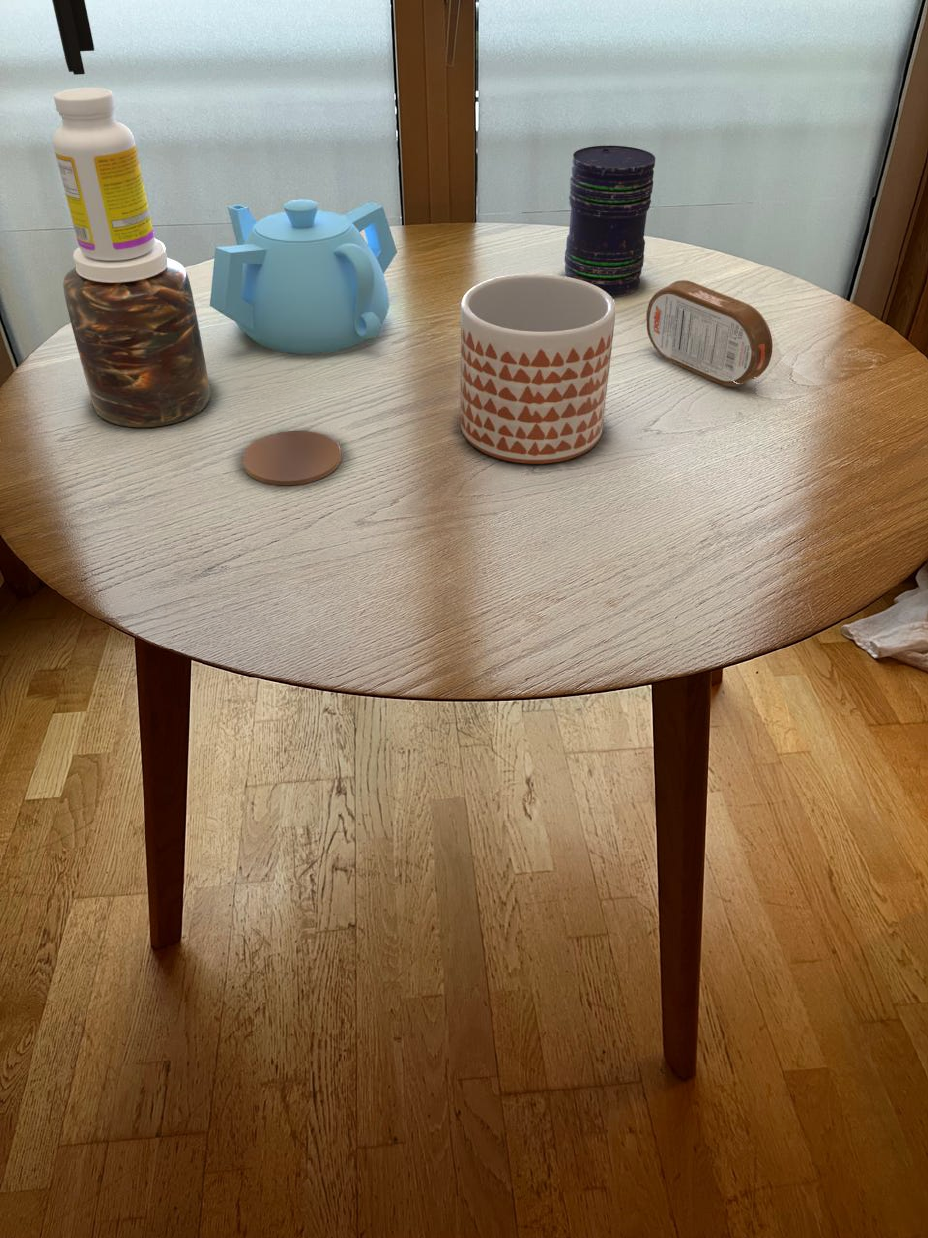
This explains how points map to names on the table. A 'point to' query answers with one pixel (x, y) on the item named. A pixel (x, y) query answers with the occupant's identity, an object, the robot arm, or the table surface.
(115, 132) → the supplement bottle
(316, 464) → the brown coaster
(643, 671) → the table surface
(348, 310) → the teapot
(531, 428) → the planter
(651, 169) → the storage jar
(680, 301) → the tin
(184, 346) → the jar
